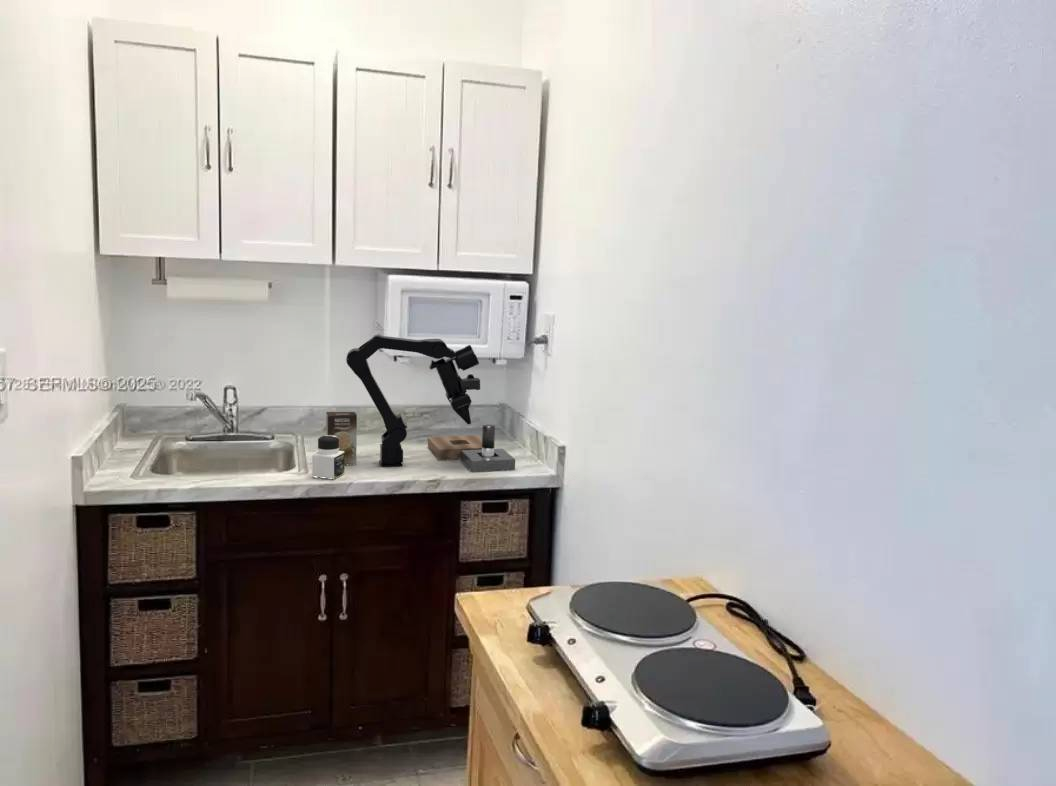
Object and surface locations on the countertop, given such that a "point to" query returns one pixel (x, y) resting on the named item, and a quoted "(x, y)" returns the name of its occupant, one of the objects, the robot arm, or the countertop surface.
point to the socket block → (487, 460)
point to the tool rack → (453, 446)
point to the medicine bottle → (328, 458)
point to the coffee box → (344, 432)
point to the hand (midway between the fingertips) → (467, 420)
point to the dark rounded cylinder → (488, 440)
